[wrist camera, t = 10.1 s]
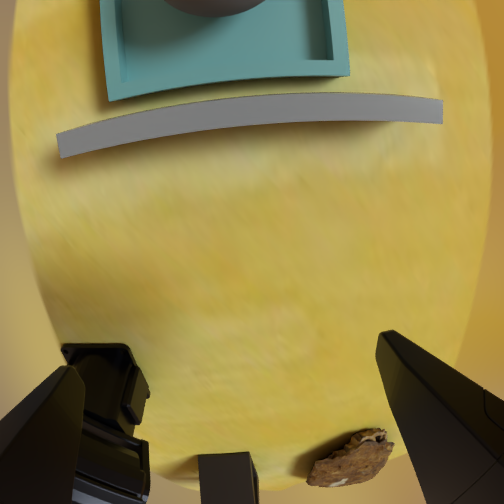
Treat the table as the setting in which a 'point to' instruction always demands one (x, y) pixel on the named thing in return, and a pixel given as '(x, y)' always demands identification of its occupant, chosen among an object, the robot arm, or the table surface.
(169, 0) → the ball
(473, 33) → the table surface
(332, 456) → the decorative rock
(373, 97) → the low wall
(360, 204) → the table surface
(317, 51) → the dish
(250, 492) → the phone stand
